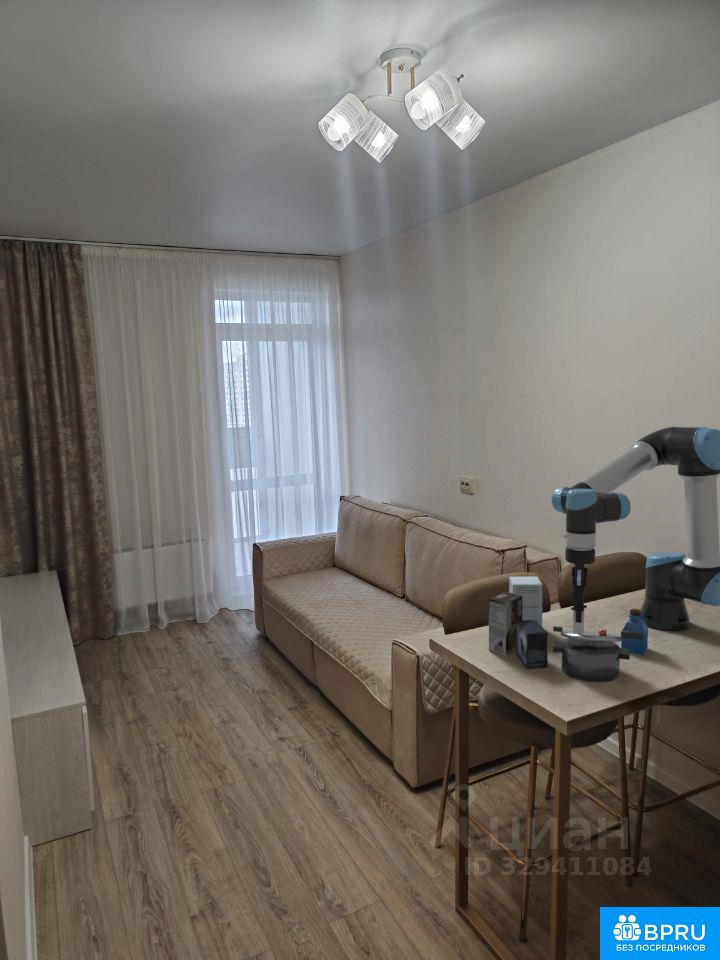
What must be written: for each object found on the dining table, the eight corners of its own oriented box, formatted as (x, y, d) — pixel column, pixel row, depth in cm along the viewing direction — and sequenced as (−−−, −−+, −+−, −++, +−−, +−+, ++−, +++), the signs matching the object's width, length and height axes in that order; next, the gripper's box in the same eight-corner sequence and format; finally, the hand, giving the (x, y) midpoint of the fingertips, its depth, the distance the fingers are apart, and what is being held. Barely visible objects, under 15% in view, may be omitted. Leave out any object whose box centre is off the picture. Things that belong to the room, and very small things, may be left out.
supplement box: (538, 626, 215) (538, 576, 213) (543, 636, 206) (543, 584, 203) (508, 625, 216) (508, 575, 214) (512, 636, 207) (512, 584, 204)
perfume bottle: (643, 655, 189) (645, 615, 187) (621, 651, 192) (622, 612, 191) (647, 648, 194) (648, 609, 193) (625, 644, 197) (626, 606, 196)
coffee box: (504, 642, 202) (504, 591, 200) (523, 647, 197) (523, 595, 195) (487, 650, 195) (487, 597, 193) (506, 656, 191) (506, 602, 189)
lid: (639, 638, 182) (640, 630, 182) (643, 645, 167) (643, 636, 167) (555, 630, 190) (555, 622, 190) (551, 636, 175) (551, 627, 175)
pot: (627, 662, 184) (628, 638, 184) (629, 686, 169) (630, 660, 168) (554, 654, 191) (555, 631, 190) (550, 677, 176) (551, 652, 175)
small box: (513, 654, 192) (513, 620, 191) (535, 653, 192) (535, 618, 191) (525, 669, 181) (525, 632, 180) (548, 668, 182) (549, 631, 181)
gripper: (566, 541, 182) (565, 623, 185) (564, 551, 170) (562, 639, 173) (595, 542, 179) (593, 626, 182) (594, 553, 167) (592, 642, 170)
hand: (578, 632), depth 178 cm, fingers closed
